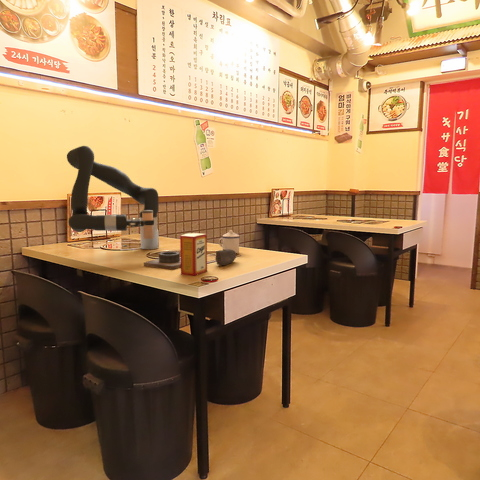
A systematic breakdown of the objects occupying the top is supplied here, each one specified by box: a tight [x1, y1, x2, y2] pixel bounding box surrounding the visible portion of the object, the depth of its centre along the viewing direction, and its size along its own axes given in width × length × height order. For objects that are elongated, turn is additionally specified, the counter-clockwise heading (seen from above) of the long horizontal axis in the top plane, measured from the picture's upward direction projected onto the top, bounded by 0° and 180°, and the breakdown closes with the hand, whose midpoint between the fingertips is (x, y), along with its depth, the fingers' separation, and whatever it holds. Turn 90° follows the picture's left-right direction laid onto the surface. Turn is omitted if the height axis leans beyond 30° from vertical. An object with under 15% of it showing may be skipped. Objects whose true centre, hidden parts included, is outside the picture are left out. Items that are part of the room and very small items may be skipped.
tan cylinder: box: [141, 209, 154, 239], centre depth 186 cm, size 5×5×13 cm
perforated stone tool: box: [214, 249, 237, 267], centre depth 179 cm, size 15×5×7 cm, turn 148°
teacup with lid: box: [218, 229, 240, 254], centre depth 208 cm, size 12×9×12 cm
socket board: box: [143, 251, 181, 271], centre depth 178 cm, size 16×16×5 cm
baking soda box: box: [179, 232, 208, 277], centre depth 161 cm, size 10×6×16 cm
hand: (153, 222), depth 186 cm, fingers closed on tan cylinder, 4 cm apart
